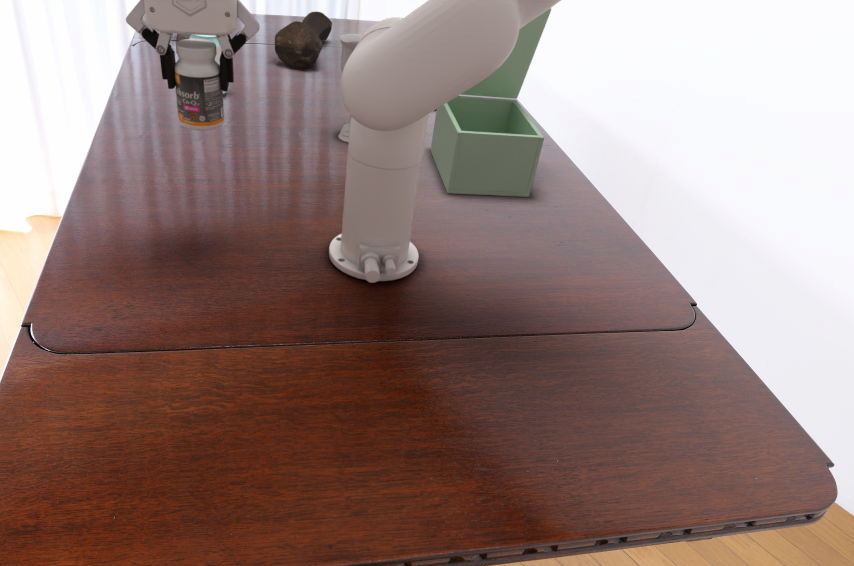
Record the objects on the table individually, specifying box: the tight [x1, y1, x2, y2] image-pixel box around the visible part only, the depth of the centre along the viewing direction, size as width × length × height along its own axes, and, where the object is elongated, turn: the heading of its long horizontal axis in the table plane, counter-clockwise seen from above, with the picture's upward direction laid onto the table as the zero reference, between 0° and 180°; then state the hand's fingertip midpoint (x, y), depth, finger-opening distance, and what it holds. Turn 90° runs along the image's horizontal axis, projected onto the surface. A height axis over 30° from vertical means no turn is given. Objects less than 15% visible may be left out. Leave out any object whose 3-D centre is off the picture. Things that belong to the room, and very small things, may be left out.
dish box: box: [429, 95, 545, 198], centre depth 120 cm, size 18×15×11 cm
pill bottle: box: [174, 39, 225, 132], centre depth 84 cm, size 6×6×10 cm
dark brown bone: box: [274, 11, 333, 71], centre depth 167 cm, size 11×10×28 cm
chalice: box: [337, 33, 365, 143], centre depth 124 cm, size 7×7×18 cm
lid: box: [459, 7, 552, 100], centre depth 117 cm, size 18×15×5 cm
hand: (199, 85), depth 85 cm, fingers closed on pill bottle, 5 cm apart
